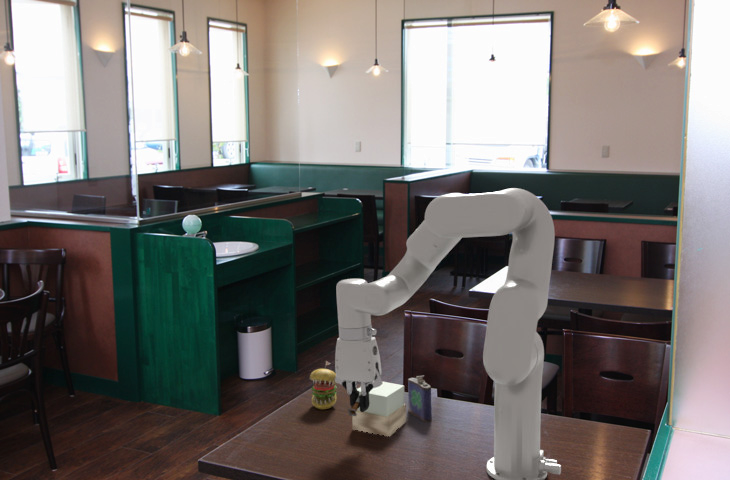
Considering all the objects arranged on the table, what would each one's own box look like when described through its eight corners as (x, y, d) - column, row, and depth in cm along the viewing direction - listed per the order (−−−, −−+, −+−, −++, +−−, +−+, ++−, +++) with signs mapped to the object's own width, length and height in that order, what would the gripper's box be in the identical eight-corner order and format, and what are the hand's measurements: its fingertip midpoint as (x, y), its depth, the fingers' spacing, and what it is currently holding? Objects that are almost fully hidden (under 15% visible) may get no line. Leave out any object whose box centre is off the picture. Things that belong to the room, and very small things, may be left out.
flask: (406, 411, 183) (406, 371, 181) (415, 408, 184) (415, 369, 183) (425, 423, 175) (425, 381, 173) (435, 420, 176) (435, 379, 175)
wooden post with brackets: (373, 400, 166) (368, 385, 164) (359, 424, 160) (354, 409, 158) (367, 399, 167) (362, 385, 165) (352, 423, 161) (347, 408, 159)
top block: (404, 404, 174) (404, 385, 174) (386, 416, 167) (386, 396, 166) (373, 398, 179) (373, 379, 178) (354, 409, 171) (354, 390, 171)
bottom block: (406, 422, 176) (405, 404, 175) (389, 438, 167) (389, 418, 166) (370, 416, 180) (370, 398, 179) (352, 431, 171) (352, 411, 170)
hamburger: (306, 409, 185) (304, 366, 183) (315, 400, 192) (314, 358, 190) (333, 412, 182) (332, 368, 181) (342, 402, 189) (341, 360, 188)
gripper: (392, 330, 160) (397, 407, 162) (333, 327, 167) (338, 401, 169) (379, 338, 154) (384, 419, 156) (317, 334, 161) (323, 411, 163)
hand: (360, 409), depth 162 cm, fingers closed on wooden post with brackets, 1 cm apart
